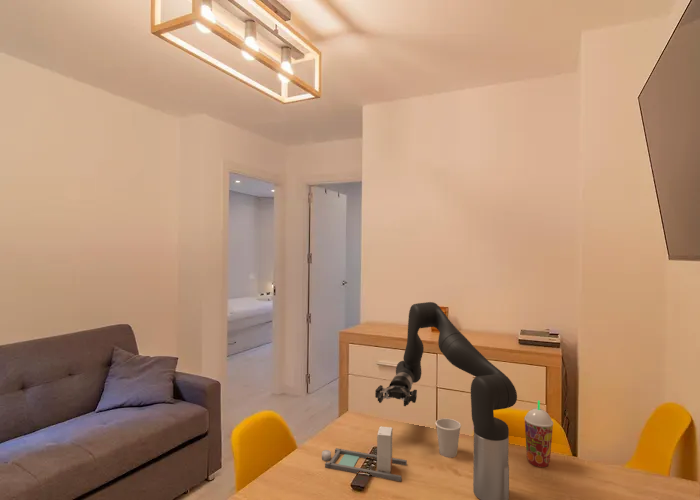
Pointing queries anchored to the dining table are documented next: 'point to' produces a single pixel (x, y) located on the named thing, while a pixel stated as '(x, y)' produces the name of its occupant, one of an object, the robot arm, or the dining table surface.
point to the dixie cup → (448, 436)
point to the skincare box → (384, 449)
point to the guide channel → (350, 461)
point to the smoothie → (538, 436)
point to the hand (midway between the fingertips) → (392, 401)
